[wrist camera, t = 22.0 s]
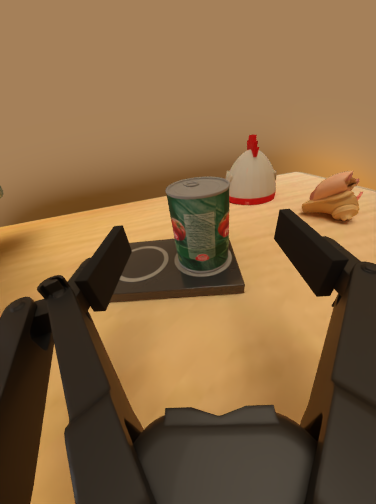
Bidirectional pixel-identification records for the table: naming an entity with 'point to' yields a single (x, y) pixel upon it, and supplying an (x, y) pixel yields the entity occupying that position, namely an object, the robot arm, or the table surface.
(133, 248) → the hob
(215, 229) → the canned tomato
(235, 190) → the kitchen timer
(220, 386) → the table surface
